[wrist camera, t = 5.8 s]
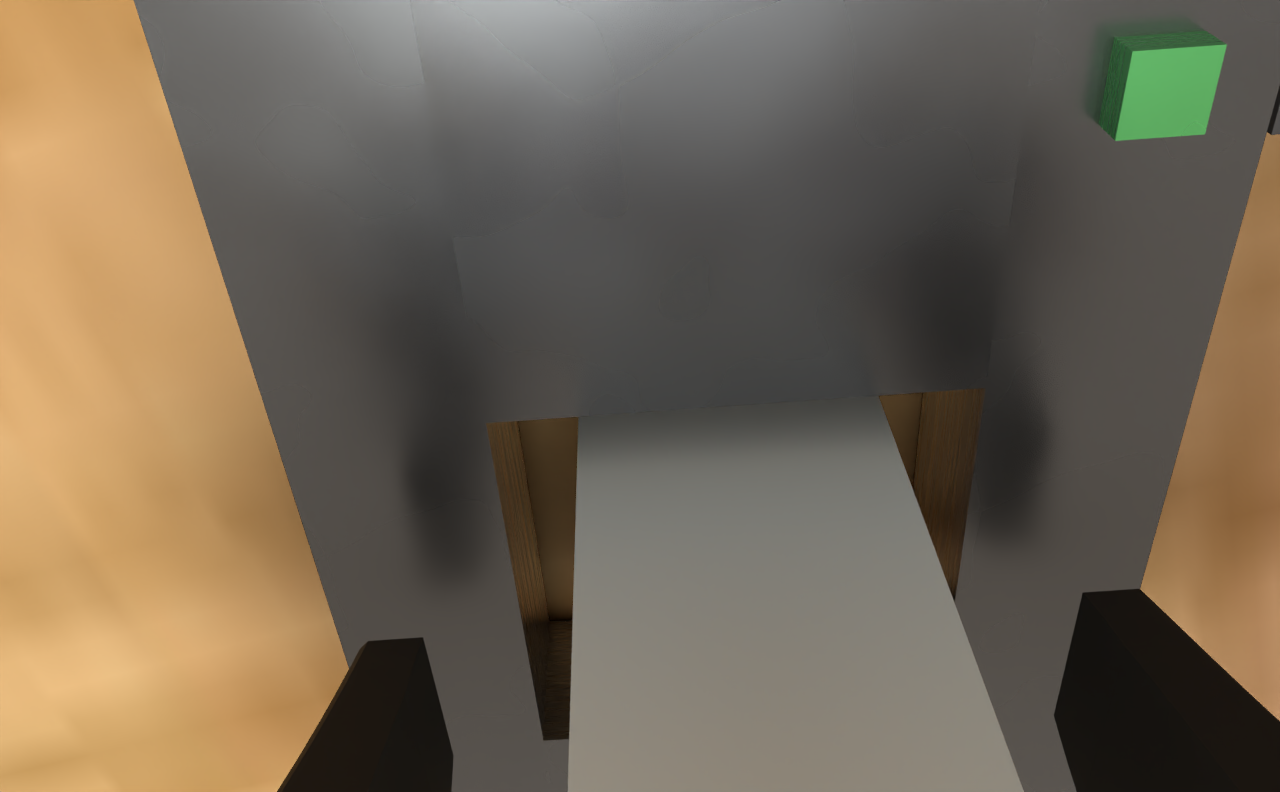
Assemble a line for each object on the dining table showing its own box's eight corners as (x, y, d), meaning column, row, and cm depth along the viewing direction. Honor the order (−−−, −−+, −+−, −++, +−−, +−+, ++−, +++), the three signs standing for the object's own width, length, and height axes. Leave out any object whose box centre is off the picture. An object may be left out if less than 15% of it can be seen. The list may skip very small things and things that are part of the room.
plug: (859, 343, 14) (1093, 981, 7) (845, 549, 16) (1017, 1193, 9) (580, 361, 14) (561, 1013, 7) (601, 564, 16) (601, 1217, 9)
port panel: (1222, -212, 10) (1384, -173, 8) (1008, 797, 20) (1057, 939, 17) (190, -133, 11) (87, -75, 8) (455, 834, 20) (438, 979, 18)
